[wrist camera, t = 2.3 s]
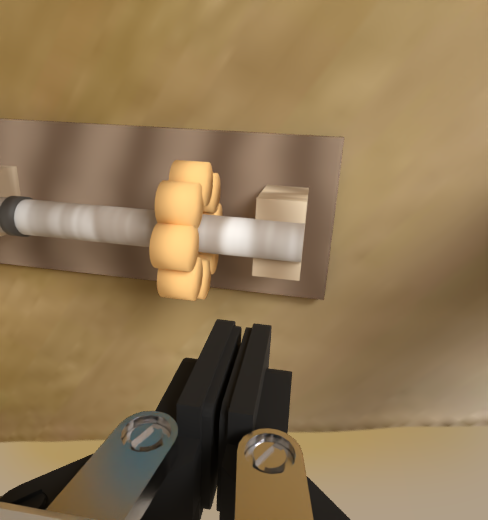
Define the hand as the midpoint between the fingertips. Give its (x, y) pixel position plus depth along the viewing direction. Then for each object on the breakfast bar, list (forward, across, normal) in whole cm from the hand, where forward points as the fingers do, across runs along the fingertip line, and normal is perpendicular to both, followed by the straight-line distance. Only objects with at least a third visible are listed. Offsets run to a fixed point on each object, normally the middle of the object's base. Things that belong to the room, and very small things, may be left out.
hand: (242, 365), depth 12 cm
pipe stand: (+20, +11, 0) cm, 23 cm away
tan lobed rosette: (+18, +5, 0) cm, 18 cm away
